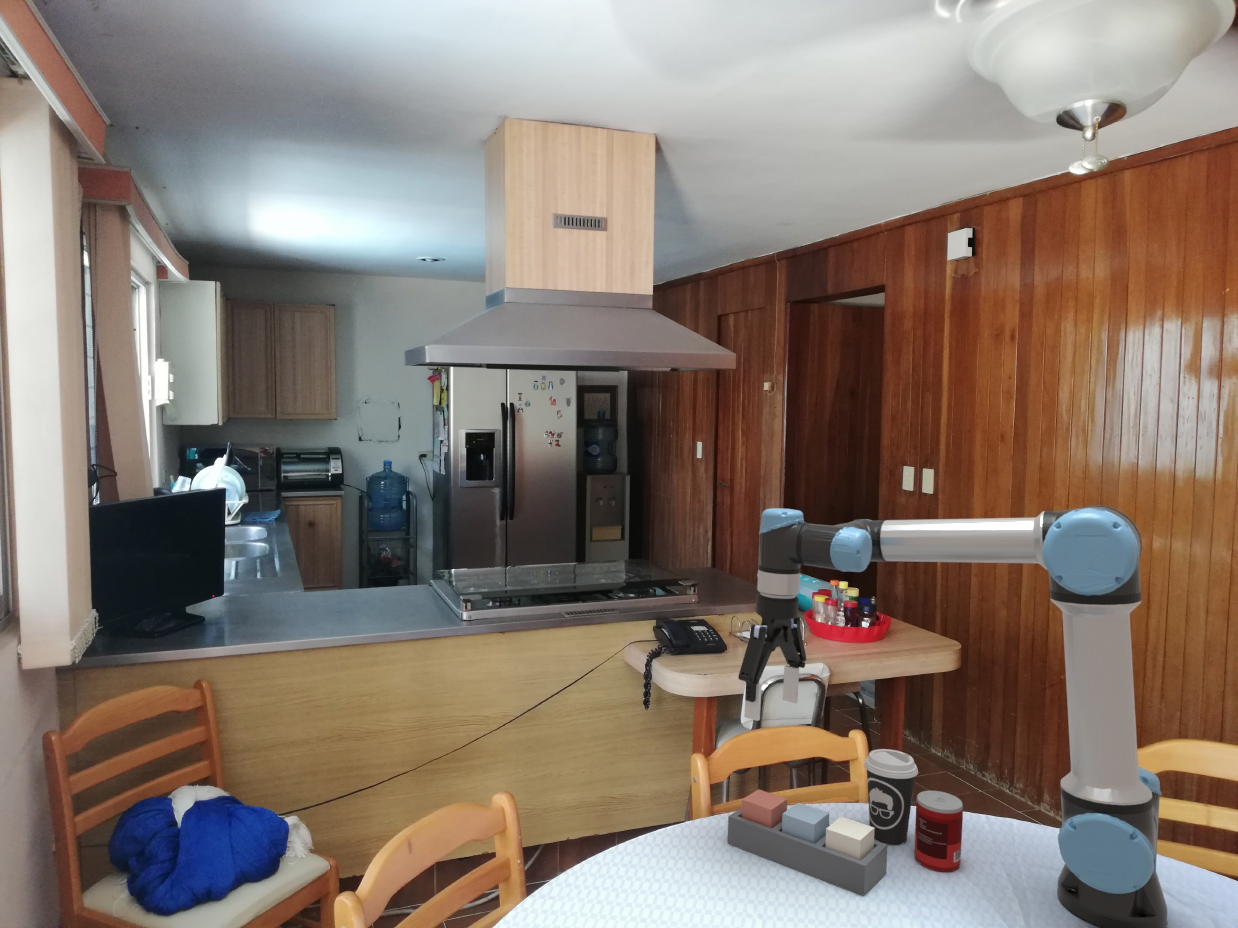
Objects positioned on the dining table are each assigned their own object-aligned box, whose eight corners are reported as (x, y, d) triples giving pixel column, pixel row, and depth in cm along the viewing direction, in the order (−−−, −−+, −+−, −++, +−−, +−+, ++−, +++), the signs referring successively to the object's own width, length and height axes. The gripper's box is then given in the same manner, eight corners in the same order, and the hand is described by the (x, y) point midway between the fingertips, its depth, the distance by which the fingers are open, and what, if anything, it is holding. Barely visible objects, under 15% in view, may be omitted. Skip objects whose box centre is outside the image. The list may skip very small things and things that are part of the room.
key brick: (786, 820, 152) (787, 798, 152) (770, 831, 147) (771, 809, 147) (757, 810, 156) (758, 789, 156) (741, 821, 151) (741, 799, 151)
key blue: (828, 834, 147) (829, 812, 147) (813, 847, 142) (814, 824, 142) (797, 824, 151) (798, 802, 150) (781, 835, 146) (782, 813, 146)
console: (886, 873, 142) (887, 844, 142) (863, 895, 135) (865, 865, 135) (753, 825, 158) (754, 799, 158) (727, 843, 151) (728, 815, 151)
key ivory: (873, 850, 142) (874, 827, 141) (859, 864, 137) (860, 840, 137) (840, 838, 145) (841, 816, 145) (825, 851, 141) (826, 828, 141)
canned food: (952, 851, 150) (955, 791, 150) (966, 874, 142) (969, 811, 142) (909, 848, 151) (911, 788, 151) (920, 870, 143) (923, 808, 143)
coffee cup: (922, 849, 151) (926, 768, 150) (869, 847, 151) (872, 766, 150) (905, 825, 160) (908, 748, 160) (855, 823, 160) (858, 746, 160)
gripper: (792, 582, 163) (787, 689, 164) (722, 599, 144) (716, 720, 145) (828, 588, 158) (822, 699, 159) (760, 607, 139) (753, 732, 140)
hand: (771, 709), depth 152 cm, fingers open, 13 cm apart
